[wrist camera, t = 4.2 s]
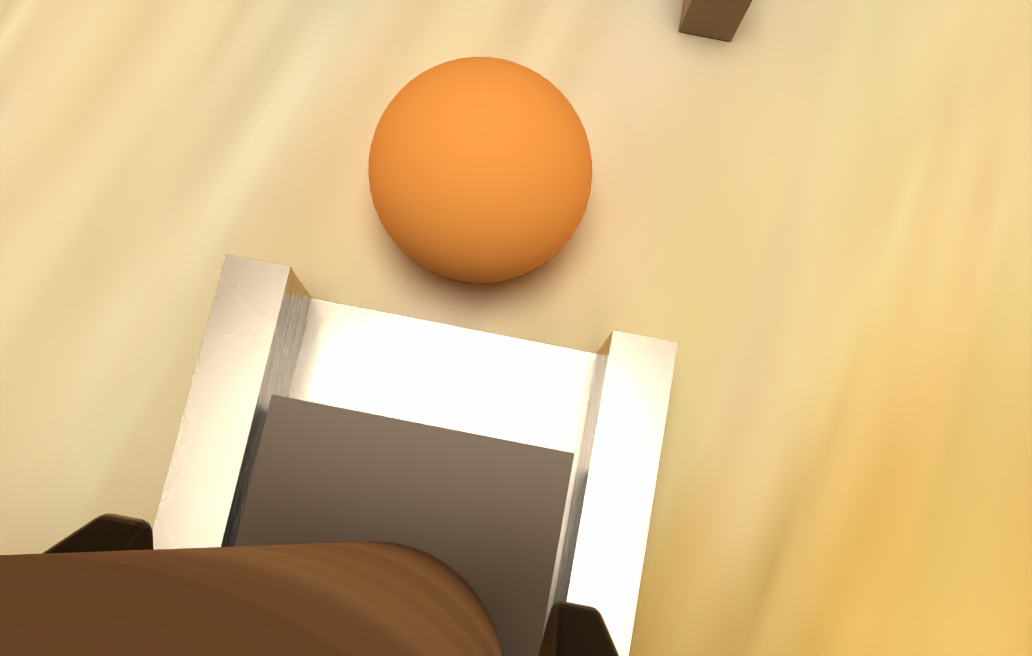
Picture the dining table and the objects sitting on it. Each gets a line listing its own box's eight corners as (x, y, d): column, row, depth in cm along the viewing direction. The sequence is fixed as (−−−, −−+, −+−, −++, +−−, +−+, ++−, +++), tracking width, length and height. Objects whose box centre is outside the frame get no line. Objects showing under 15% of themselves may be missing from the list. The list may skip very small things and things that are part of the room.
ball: (451, 344, 17) (446, 294, 14) (340, 181, 18) (309, 92, 14) (618, 235, 18) (655, 160, 14) (506, 80, 18) (515, -30, 15)
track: (565, 893, 15) (581, 954, 13) (126, 808, 15) (67, 854, 13) (650, 367, 17) (677, 342, 15) (257, 291, 17) (225, 254, 15)
